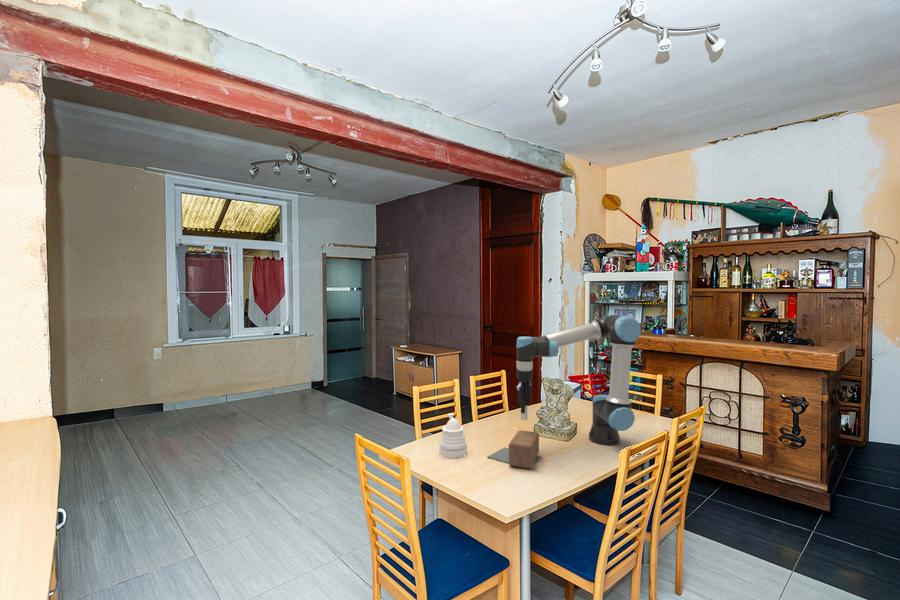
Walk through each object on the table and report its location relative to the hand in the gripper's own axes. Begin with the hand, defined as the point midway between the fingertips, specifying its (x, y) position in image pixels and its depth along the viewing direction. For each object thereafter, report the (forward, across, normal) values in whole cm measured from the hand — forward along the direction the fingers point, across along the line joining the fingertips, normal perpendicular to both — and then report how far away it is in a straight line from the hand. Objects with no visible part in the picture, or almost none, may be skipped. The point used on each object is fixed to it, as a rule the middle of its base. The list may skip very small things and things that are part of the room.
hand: (524, 419), depth 210 cm
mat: (+16, +8, 0) cm, 18 cm away
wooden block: (+10, -1, +2) cm, 11 cm away
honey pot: (+16, +21, -26) cm, 37 cm away
